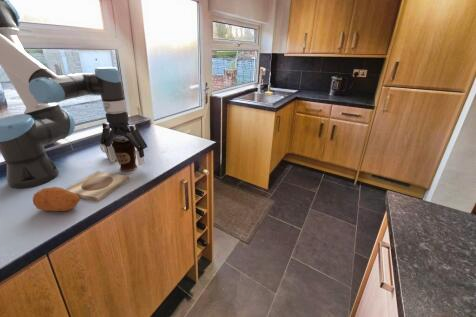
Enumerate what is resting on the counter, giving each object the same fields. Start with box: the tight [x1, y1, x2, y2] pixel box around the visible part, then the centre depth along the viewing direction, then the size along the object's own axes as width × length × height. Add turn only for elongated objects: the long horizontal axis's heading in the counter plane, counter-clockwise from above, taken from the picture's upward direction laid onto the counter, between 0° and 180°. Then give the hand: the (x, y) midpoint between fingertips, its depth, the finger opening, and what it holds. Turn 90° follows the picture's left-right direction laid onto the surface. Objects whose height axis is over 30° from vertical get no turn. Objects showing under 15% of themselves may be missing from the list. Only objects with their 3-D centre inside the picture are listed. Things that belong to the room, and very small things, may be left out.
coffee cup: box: [112, 136, 138, 172], centre depth 95 cm, size 9×8×13 cm
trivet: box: [65, 170, 131, 202], centre depth 85 cm, size 15×15×1 cm
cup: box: [99, 142, 117, 161], centre depth 106 cm, size 11×8×8 cm
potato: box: [32, 186, 81, 212], centre depth 71 cm, size 7×13×7 cm, turn 80°
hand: (127, 162), depth 96 cm, fingers open, 13 cm apart
